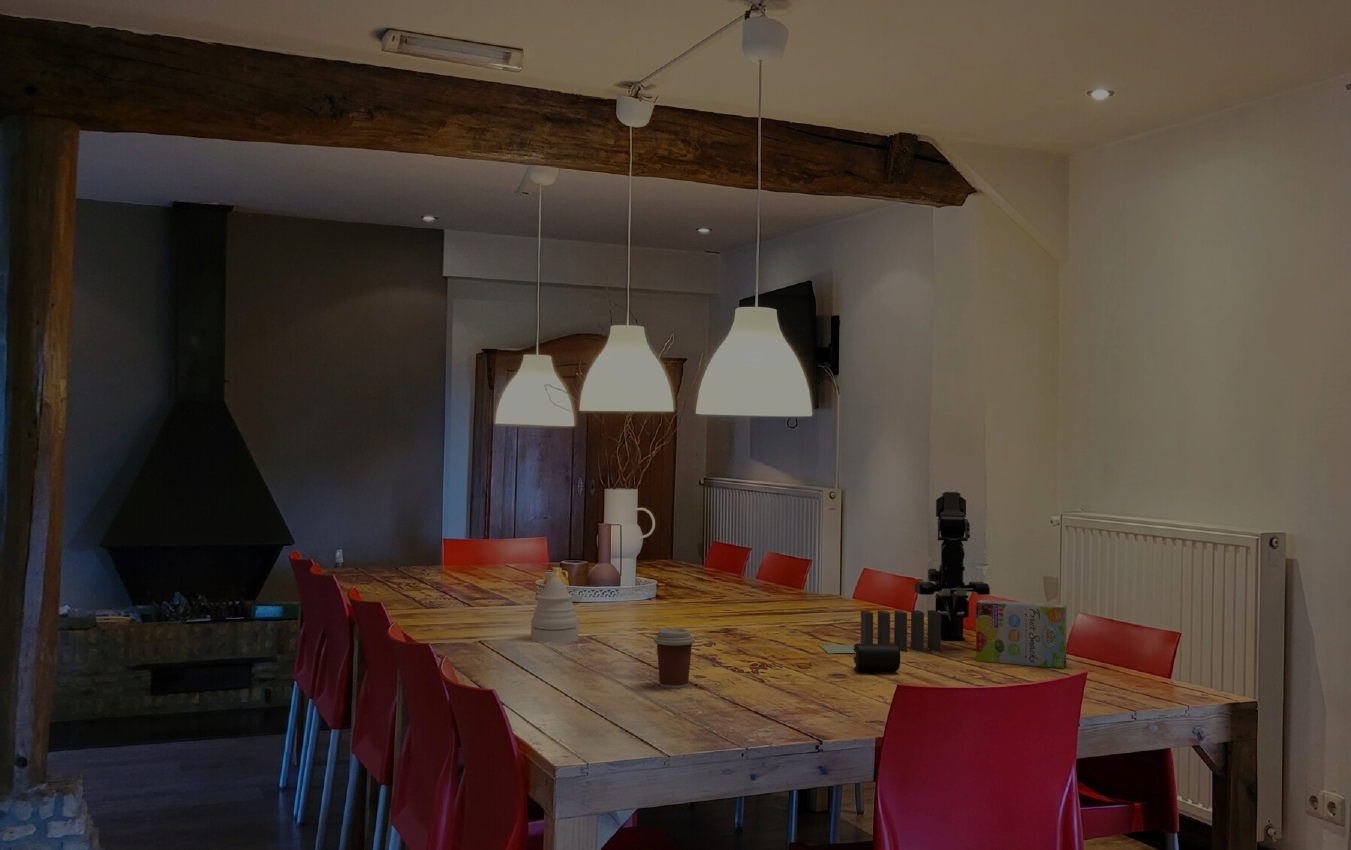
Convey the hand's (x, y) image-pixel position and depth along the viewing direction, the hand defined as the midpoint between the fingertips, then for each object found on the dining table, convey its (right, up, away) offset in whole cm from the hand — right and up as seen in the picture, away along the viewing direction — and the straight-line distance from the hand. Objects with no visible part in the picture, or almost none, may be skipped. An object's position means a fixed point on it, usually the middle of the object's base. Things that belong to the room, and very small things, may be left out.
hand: (951, 620), depth 298 cm
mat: (-30, -7, -2) cm, 31 cm away
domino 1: (-18, -7, -2) cm, 20 cm away
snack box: (+13, -8, -18) cm, 23 cm away
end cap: (-26, -7, -31) cm, 41 cm away
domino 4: (-5, -8, -1) cm, 9 cm away
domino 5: (-23, -7, -2) cm, 24 cm away
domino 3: (-9, -7, -1) cm, 12 cm away
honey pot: (-106, -7, +10) cm, 107 cm away
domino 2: (-14, -7, -1) cm, 16 cm away
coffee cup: (-73, -6, -49) cm, 88 cm away
